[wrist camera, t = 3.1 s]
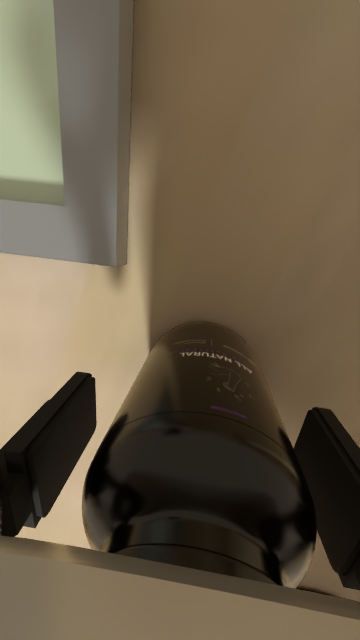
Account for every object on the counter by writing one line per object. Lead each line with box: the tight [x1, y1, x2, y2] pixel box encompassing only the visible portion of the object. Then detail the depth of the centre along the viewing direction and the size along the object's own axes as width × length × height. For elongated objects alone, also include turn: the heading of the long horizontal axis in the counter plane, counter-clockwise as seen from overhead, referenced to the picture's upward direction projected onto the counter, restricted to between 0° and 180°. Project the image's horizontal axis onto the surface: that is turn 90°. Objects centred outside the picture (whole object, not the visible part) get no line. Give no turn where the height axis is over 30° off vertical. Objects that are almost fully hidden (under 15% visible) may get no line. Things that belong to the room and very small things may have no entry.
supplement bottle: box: [82, 322, 317, 589], centre depth 9 cm, size 7×7×12 cm
